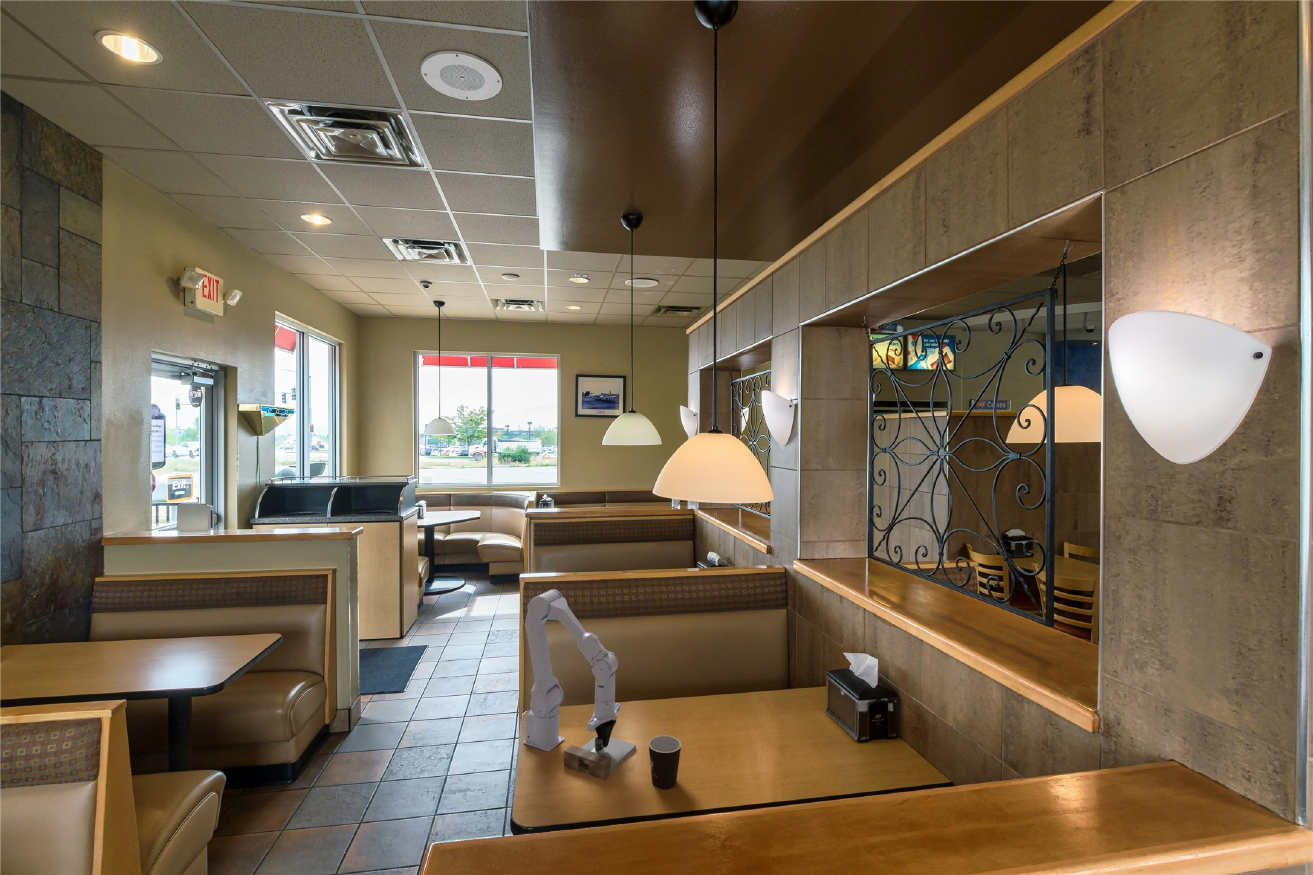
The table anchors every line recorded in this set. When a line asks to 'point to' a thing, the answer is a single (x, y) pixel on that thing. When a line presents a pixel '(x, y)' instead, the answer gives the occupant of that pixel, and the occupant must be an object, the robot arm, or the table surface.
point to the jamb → (597, 762)
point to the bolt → (597, 747)
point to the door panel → (614, 750)
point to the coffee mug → (664, 761)
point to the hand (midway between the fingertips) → (603, 745)
